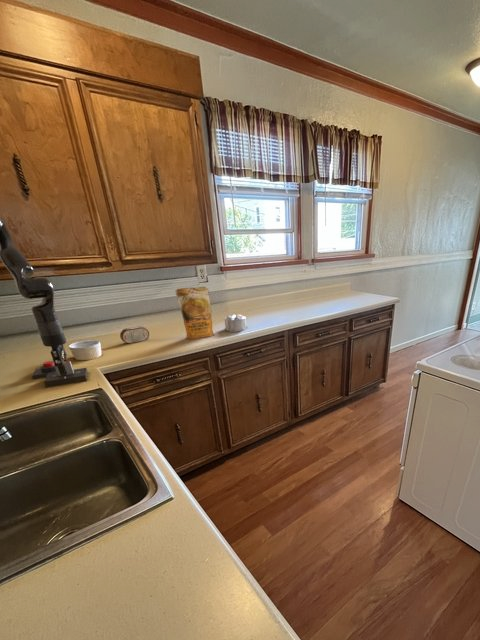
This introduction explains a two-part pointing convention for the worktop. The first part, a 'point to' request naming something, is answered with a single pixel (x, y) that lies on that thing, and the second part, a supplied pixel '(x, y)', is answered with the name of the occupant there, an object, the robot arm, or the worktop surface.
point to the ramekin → (86, 350)
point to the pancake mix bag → (196, 311)
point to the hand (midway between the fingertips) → (65, 371)
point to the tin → (134, 334)
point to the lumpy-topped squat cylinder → (235, 323)
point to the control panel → (66, 378)
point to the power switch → (43, 372)
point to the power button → (48, 364)
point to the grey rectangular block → (68, 368)
